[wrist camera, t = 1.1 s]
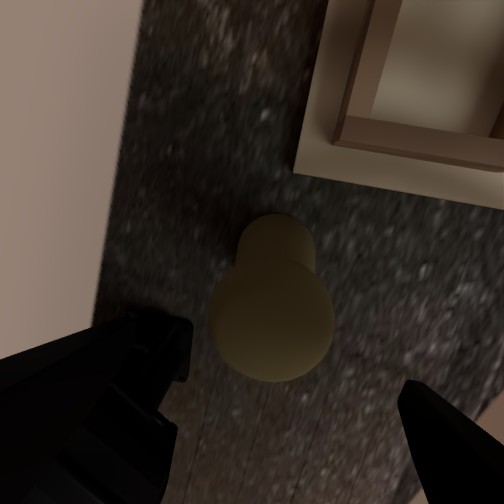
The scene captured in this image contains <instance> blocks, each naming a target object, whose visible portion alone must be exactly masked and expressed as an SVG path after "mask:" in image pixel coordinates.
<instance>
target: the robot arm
mask: <svg viewBox="0 0 504 504" xmlns="http://www.w3.org/2000/svg"><path fill="white" fill-rule="evenodd" d="M127 314H129V316H128V315H127ZM186 327H188V328H189V329H187V328H186ZM193 329H194V326H193V324H192V323H191V322H188V321H183V320H178V319H174V318H169V317H166V316H162V315H157V314H153V313H148V312H142V311H138V310H133V309H126V310H125V311H123V312H122V317H119V318H116V319H114V320H111V321H108V322H105V323H102V324H99V325H97V326H94V327H91V328H88V329H85V330H82V331H80V332H77V333H74V334H71V335H68V336H66V337H63V338H60V339H57V340H54V341H51V342H48V343H45V344H43V345H40V346H37V347H34V348H31V349H28V350H26V351H23V352H20V353H17V354H14V355H11V356H9V357H6V358H3V359H0V504H160V503H161V501H162V498H163V496H164V493H165V490H166V487H167V483H168V478H169V473H170V467H171V462H172V457H173V452H174V447H175V441H176V436H177V431H178V427H177V426H176V425H175V424H174V423H173V422H172V423H171V422H170V421H169V420H167V419H166V418H165V417H164V416H163V415H162V414H161V413H160V412H159V411H158V410H157V409H158V408H159V406H160V404H161V402H162V400H163V398H164V396H165V395H166V393H167V391H168V389H169V387H170V385H171V383H172V382H173V381H177V382H182V383H184V382H186V380H187V378H188V375H189V366H190V356H191V347H192V338H193ZM182 376H183V377H182ZM397 404H398V409H399V413H400V417H401V420H402V424H403V427H404V431H405V435H406V438H407V442H408V445H409V449H410V453H411V456H412V459H413V462H414V465H415V468H416V471H417V474H418V476H419V479H420V482H421V484H422V487H423V490H424V492H425V495H426V498H427V501H428V503H429V504H504V445H503V444H501V443H500V442H499V441H497V440H496V439H495V438H494V437H492V436H491V435H489V433H487V432H486V431H485V430H483V429H482V428H481V427H480V426H478V425H477V424H476V423H474V422H473V421H472V420H471V419H469V418H468V417H467V416H465V415H464V414H463V413H462V412H460V411H459V410H458V409H456V408H455V407H454V406H453V405H451V404H450V403H449V402H447V401H446V400H445V399H444V398H442V397H441V396H440V395H438V394H437V393H436V392H435V391H433V390H432V389H431V388H429V387H428V386H427V385H426V384H424V383H422V382H419V381H415V380H407V381H406V382H405V384H404V386H403V389H402V391H401V393H400V395H399V397H398V402H397Z"/></svg>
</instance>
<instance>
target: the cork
mask: <svg viewBox="0 0 504 504" xmlns="http://www.w3.org/2000/svg"><path fill="white" fill-rule="evenodd" d="M315 255H316V249H315V244H314V240H313V237H312V235H311V234H310V232H309V230H308V229H307V227H306V226H305V225H303V224H302V223H301V222H300V221H299V220H297V219H295V218H293V217H290V216H288V215H285V214H269V215H266V216H262V217H259V218H258V219H256V220H255V221H253V222H251V223H250V224H249V225H248V226H247V228H246V229H245V230H244V231H243V233H242V235H241V237H240V240H239V243H238V248H237V254H236V261H235V267H233V268H232V269H230V270H229V271H228V272H227V274H226V275H225V276H224V277H223V278H222V280H221V281H220V282H219V283H218V285H217V286H216V288H215V290H214V293H213V295H212V298H211V301H210V304H209V311H208V322H209V332H210V335H211V337H212V340H213V343H214V346H215V347H216V349H217V351H218V353H219V354H220V355H221V356H222V358H223V359H224V360H225V362H226V363H227V364H228V365H229V366H231V367H232V368H234V369H235V370H236V371H238V372H239V373H240V374H243V375H245V376H248V377H250V378H253V379H255V380H260V381H268V382H280V381H287V380H292V379H294V378H297V377H299V376H301V375H304V374H306V373H307V372H309V371H310V370H311V369H312V368H313V367H314V366H316V365H317V364H318V363H319V362H320V361H321V360H322V358H323V357H324V355H325V353H326V352H327V350H328V348H329V347H330V345H331V343H332V338H333V332H334V325H335V314H334V310H333V305H332V300H331V297H330V295H329V293H328V291H327V290H326V288H325V286H324V285H323V283H322V282H321V280H320V279H319V277H318V276H317V275H315Z"/></svg>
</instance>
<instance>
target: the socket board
mask: <svg viewBox="0 0 504 504" xmlns="http://www.w3.org/2000/svg"><path fill="white" fill-rule="evenodd" d="M293 173H298V174H303V175H309V176H315V177H320V178H326V179H332V180H338V181H343V182H349V183H355V184H360V185H366V186H372V187H377V188H383V189H389V190H394V191H400V192H406V193H411V194H417V195H423V196H428V197H434V198H440V199H446V200H451V201H457V202H463V203H468V204H474V205H480V206H485V207H491V208H497V209H503V210H504V0H329V1H328V5H327V10H326V15H325V20H324V25H323V29H322V34H321V39H320V44H319V48H318V53H317V58H316V63H315V68H314V72H313V77H312V82H311V87H310V92H309V96H308V101H307V106H306V111H305V115H304V120H303V125H302V130H301V135H300V139H299V144H298V149H297V154H296V158H295V163H294V168H293Z"/></svg>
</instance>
